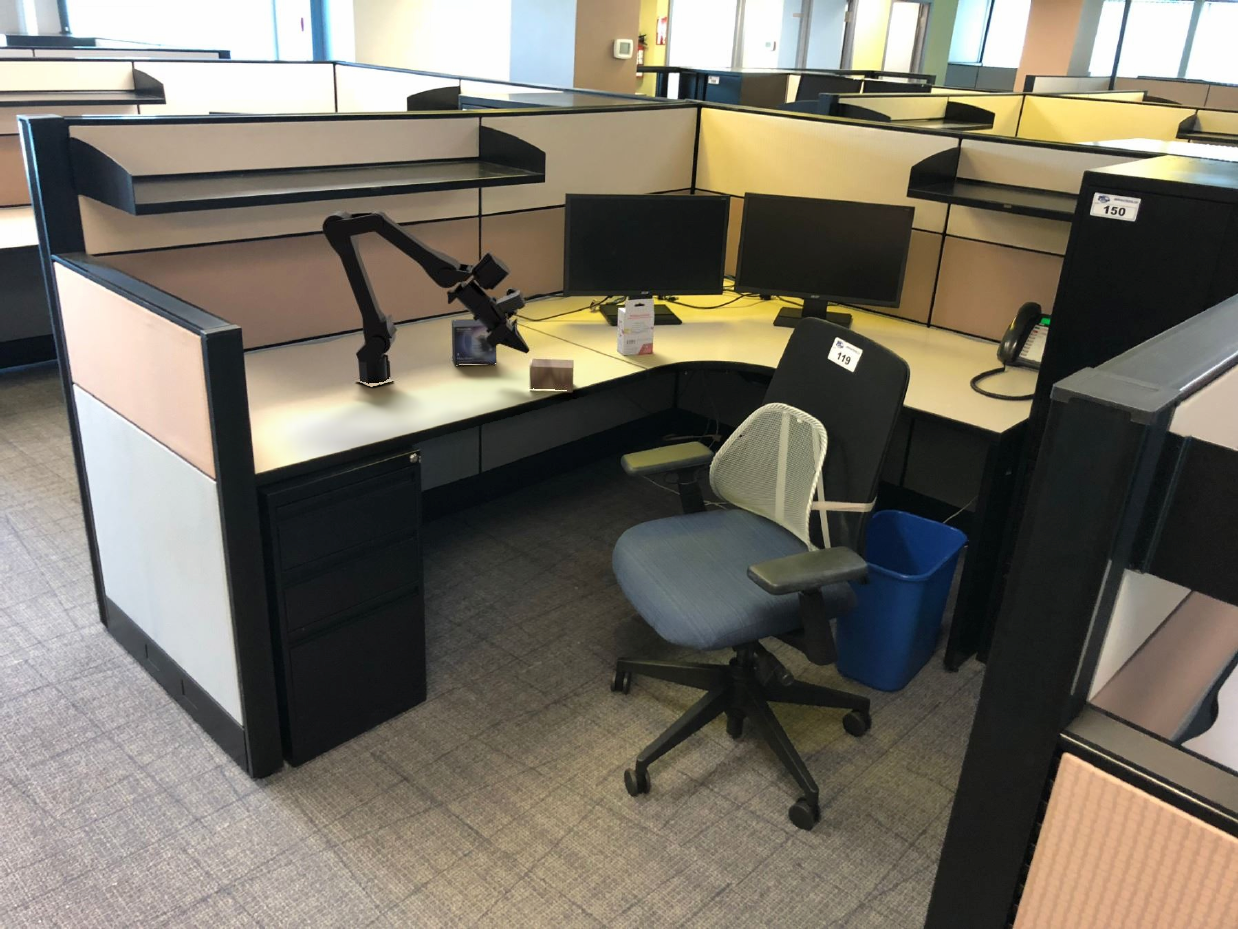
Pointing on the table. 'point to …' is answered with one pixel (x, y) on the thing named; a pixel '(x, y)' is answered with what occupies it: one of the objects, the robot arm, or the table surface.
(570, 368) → the walnut block
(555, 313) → the table surface
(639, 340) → the ink cartridge box
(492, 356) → the small box
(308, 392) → the table surface
